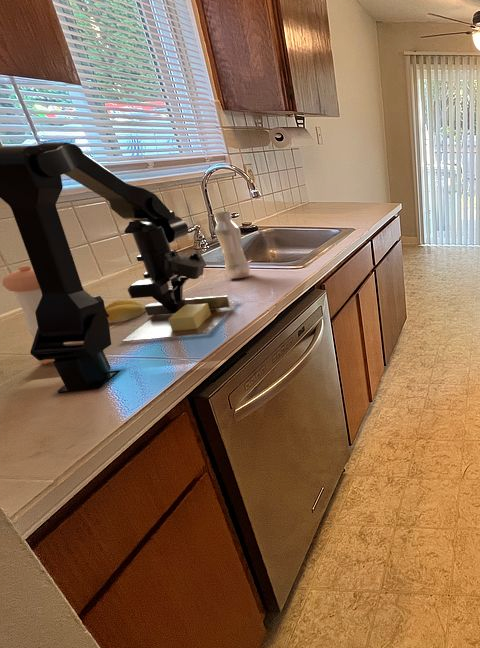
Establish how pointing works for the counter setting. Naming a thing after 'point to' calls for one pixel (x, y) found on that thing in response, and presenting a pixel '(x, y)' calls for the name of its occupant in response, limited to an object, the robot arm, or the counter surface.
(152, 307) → the knife
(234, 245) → the plastic bottle
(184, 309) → the butter stick
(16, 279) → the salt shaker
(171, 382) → the counter surface
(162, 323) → the board
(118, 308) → the bread roll
